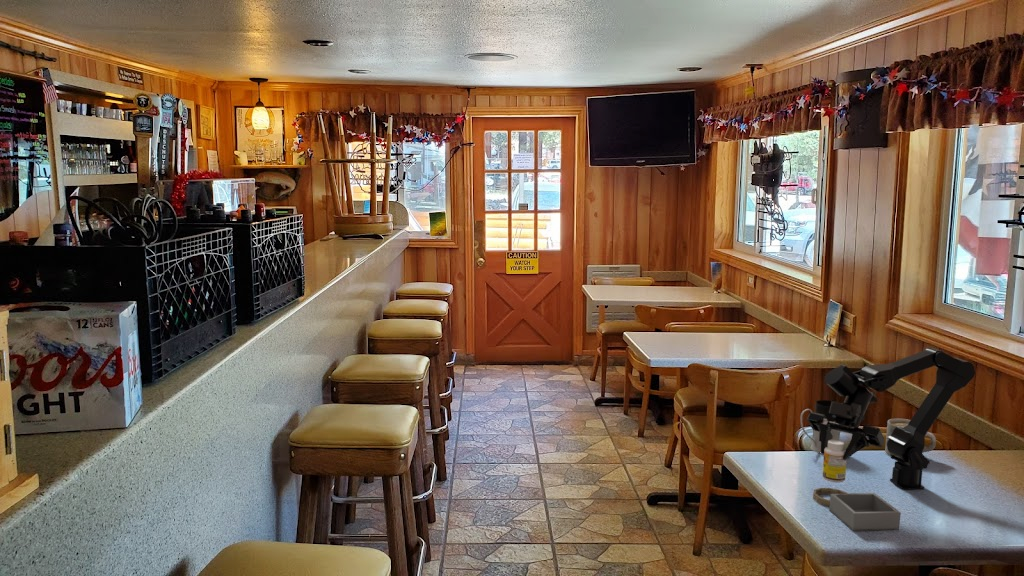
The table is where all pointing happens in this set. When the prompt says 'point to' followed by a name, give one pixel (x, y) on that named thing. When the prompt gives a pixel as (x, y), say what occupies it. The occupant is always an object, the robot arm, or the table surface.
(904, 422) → the coffee mug
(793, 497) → the table surface
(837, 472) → the supplement bottle
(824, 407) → the glass holder
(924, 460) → the robot arm
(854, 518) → the bin
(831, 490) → the stud collar
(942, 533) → the table surface
